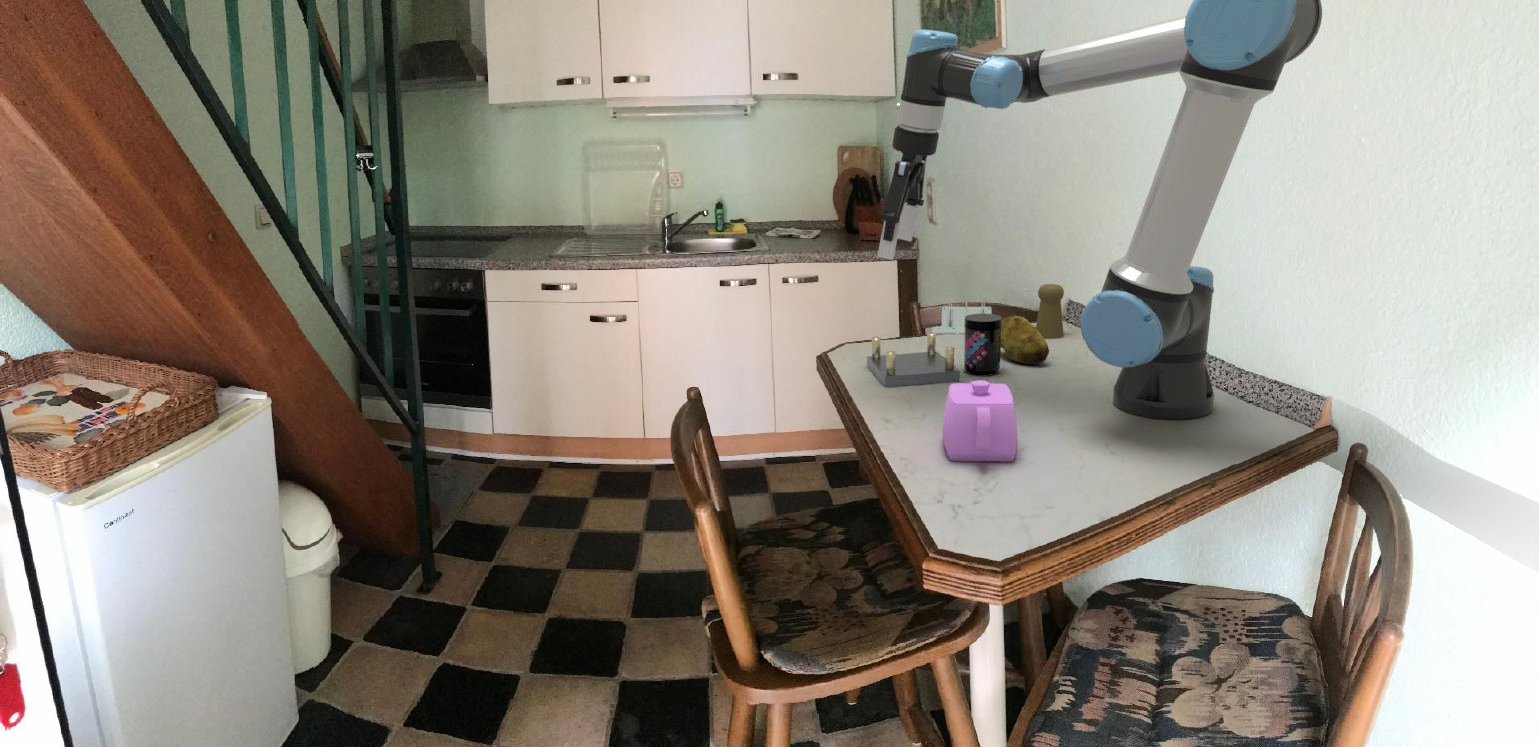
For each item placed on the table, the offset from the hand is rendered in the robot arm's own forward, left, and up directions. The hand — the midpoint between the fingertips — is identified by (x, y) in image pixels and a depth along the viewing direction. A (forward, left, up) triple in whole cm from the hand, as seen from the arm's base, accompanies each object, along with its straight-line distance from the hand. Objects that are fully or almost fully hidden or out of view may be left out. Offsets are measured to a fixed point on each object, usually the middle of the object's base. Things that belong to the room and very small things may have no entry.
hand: (895, 248), depth 160 cm
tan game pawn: (+22, -40, -24) cm, 52 cm away
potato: (+6, -27, -24) cm, 37 cm away
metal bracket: (+34, -25, -25) cm, 49 cm away
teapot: (-37, -3, -25) cm, 44 cm away
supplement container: (0, -17, -24) cm, 30 cm away
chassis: (+2, -4, -24) cm, 25 cm away
